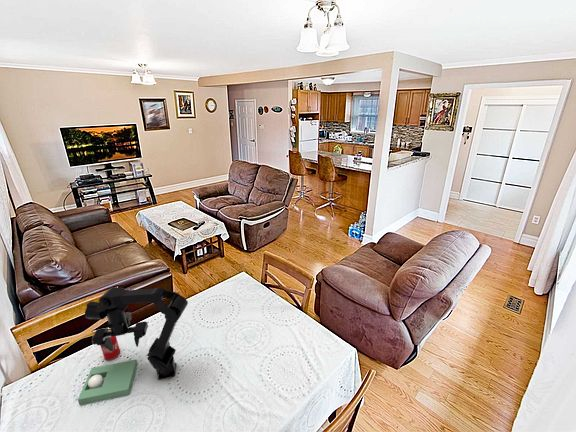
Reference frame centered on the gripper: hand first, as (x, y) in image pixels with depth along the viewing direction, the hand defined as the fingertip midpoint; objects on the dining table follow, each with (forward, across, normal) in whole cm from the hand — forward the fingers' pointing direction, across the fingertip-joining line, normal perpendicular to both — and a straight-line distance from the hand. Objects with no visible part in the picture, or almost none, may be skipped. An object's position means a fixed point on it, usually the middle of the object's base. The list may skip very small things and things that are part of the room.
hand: (125, 348), depth 116 cm
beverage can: (+12, +10, -10) cm, 19 cm away
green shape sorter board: (+12, +6, +5) cm, 15 cm away
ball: (+10, +11, +5) cm, 16 cm away
